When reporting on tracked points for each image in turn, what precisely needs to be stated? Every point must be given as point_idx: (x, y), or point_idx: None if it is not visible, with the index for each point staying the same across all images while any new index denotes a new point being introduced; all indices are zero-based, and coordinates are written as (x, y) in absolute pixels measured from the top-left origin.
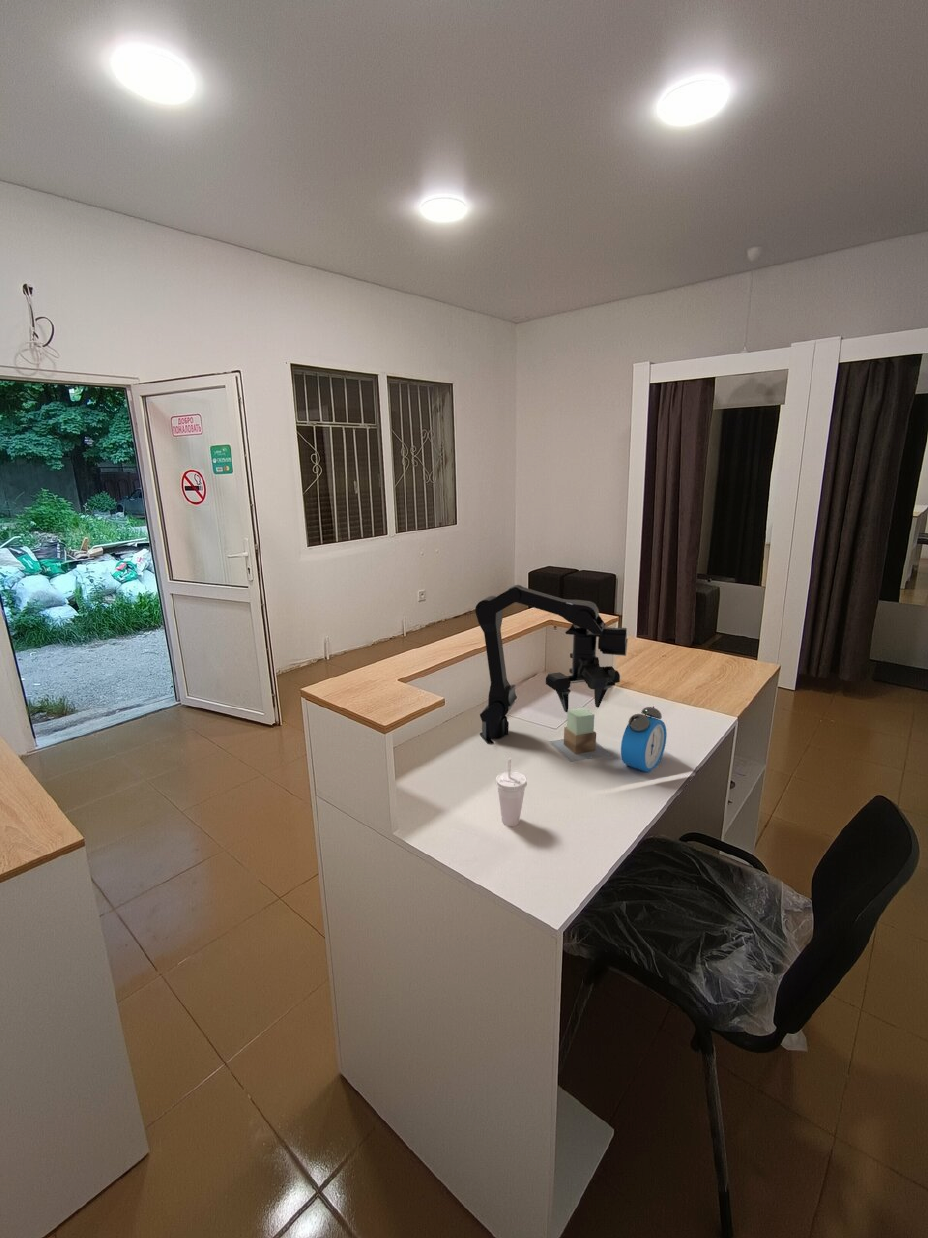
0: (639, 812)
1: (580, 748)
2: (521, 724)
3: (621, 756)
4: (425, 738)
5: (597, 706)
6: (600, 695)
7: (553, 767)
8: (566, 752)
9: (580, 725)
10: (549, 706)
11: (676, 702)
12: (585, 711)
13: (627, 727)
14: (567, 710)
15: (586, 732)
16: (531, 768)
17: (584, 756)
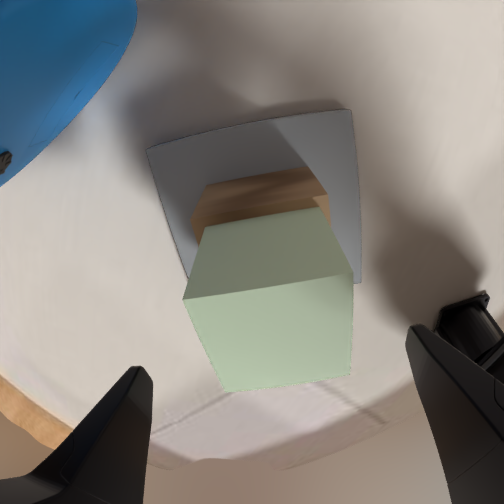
0: None
1: (284, 177)
2: (360, 381)
3: (136, 8)
4: None
5: (139, 373)
6: (94, 447)
7: (411, 112)
8: (337, 188)
9: (304, 239)
10: (250, 433)
11: (8, 380)
12: (238, 351)
13: (9, 2)
14: (421, 334)
15: (252, 221)
16: (470, 132)
17: (274, 139)
